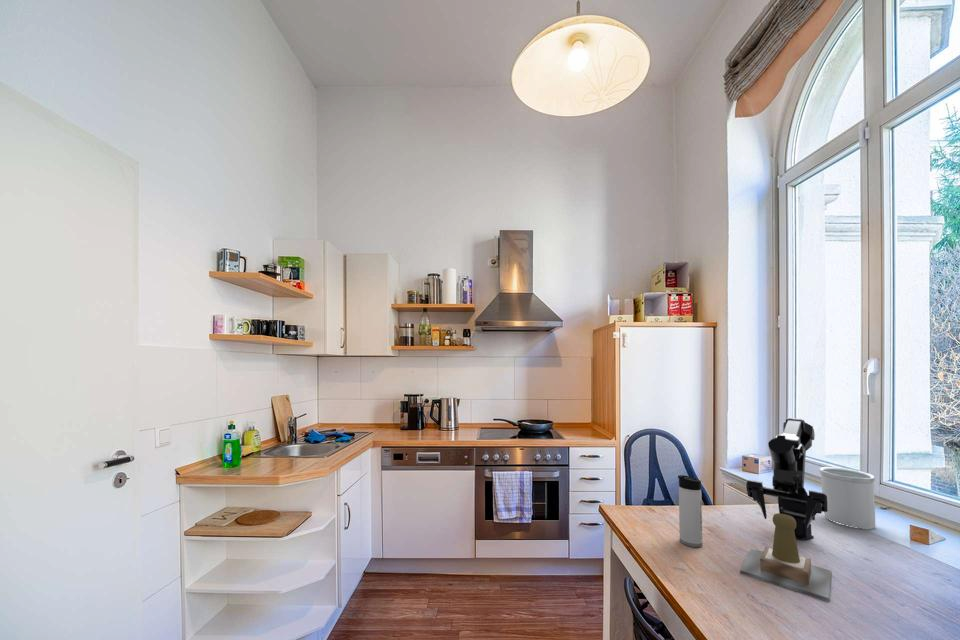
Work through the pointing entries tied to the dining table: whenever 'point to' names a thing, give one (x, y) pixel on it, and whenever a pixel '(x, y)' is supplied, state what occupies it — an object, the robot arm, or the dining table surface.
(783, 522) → the cork
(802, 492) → the robot arm
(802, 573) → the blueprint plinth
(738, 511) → the dining table surface
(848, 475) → the utensil holder
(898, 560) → the dining table surface
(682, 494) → the travel mug
